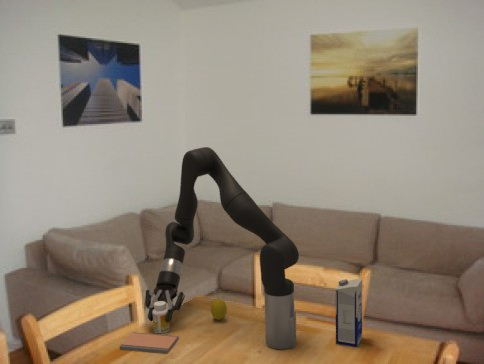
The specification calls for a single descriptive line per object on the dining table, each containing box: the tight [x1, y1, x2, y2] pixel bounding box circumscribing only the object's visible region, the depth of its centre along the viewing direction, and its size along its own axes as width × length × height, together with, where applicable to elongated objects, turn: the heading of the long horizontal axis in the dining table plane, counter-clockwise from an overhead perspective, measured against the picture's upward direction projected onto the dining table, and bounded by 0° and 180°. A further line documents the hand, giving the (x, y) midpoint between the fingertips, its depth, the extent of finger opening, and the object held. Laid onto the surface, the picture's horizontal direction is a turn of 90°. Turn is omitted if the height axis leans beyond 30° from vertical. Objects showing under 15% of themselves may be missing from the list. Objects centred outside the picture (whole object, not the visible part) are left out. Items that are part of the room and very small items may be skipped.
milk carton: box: [334, 278, 363, 348], centre depth 172 cm, size 7×7×20 cm
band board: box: [119, 332, 180, 354], centre depth 177 cm, size 16×10×1 cm, turn 76°
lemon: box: [210, 298, 228, 321], centre depth 192 cm, size 6×6×8 cm
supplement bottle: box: [152, 301, 171, 334], centre depth 186 cm, size 5×5×10 cm
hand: (158, 320), depth 184 cm, fingers closed on supplement bottle, 5 cm apart
